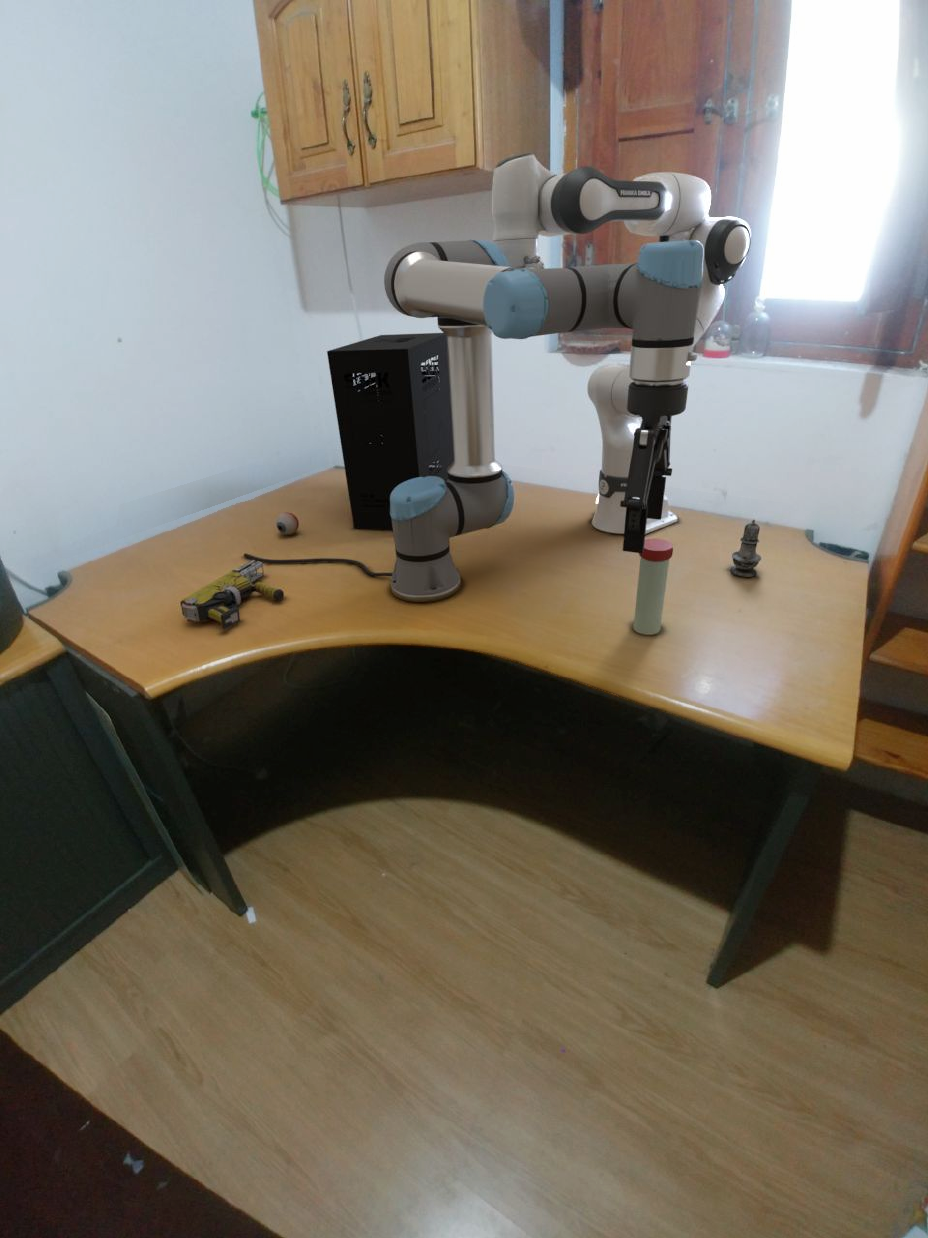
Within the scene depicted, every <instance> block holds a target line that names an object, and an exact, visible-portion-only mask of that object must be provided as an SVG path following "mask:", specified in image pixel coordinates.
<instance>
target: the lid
mask: <svg viewBox="0 0 928 1238" xmlns="http://www.w3.org/2000/svg"><path fill="white" fill-rule="evenodd" d="M673 547H674V544H673V543H672V542H671V541H670V540H666V539H663V538H645V542H644V551H643V553H638V555H639V557H640V558H641V557H642V558H643V559H646V560H650V561H665V560H668V559H669V560H671V558H672V556H673V551H674V548H673Z"/></svg>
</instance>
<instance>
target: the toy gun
mask: <svg viewBox="0 0 928 1238" xmlns="http://www.w3.org/2000/svg"><path fill="white" fill-rule="evenodd" d="M260 569H261V571H262V572H258V570H260ZM264 575H265V571H264V564H263V562H261V561H257V560H254V559H251V560H250V561H248V562H247V563H244V565H242V566H239V567H238V568H237V569H233V570H231V571H229V572H228V573H226V574H224V575H222V576H220V577H219V578H217V579H216V580H214V581H212V582H211V583H209V584H207V585H205V586H204V587H202V588H200V589H198V590H196V591H195V592H193V593H191V594H190V595H188V596H186V597H184V598H183V599H182V600H181V601H180V602H179V603H180V607H181V613H182V616H183V617H184V618H185V619H186V620H187V622H189V623H190V622H191V623H196V622H198V623H203V622H208V621H212V620H214V621H216V622H219V623H221V625H222V626H221V627H222V630H223V629H224V630H227V629H228V628H230V627H232V626H234V625H236V624H238V623H240V622H241V617H240V616H241V615H240V609H239V605H241V602H242V599H244V598H245V597H247V596H250V595H252V594H253V593H254V592H255V593H258V594H260V595H262V596H263V595H264V597H268V598H270V599H273V600H274V601H277V602H279V601H281V600H283V599H284V597H285V593H284V591H283V590H282V589H281V588H275V587H274V586H271V585H268V584H266V583H263V582H260V581H258V582H256V583H255V584H254V585H253V584H252V583H254V582H255V581H257V580H258V579H260V578H261V577H264Z"/></svg>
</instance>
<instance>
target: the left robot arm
mask: <svg viewBox="0 0 928 1238" xmlns="http://www.w3.org/2000/svg"><path fill="white" fill-rule="evenodd" d="M703 258H704V248H703V245H702V244H701V243H700V242H699V241H696V240H686V241H669V242H659V241H658V242H657V241H656V242H650V243H645V244H643V245H642V246H641V247H640V249H639V251H638V258H637V261H636V262H634V263H613V264H609V263H602V264H592V265H579V266H567V267H552V268H550V267H549V268H545V269H530V268H516V267H509V265H508V262H507V259H506V257H505V255H504V254H503V253H502V251H501V249H500V248H499V247H498V246H497V245H495V244H494V243H493V241H489V240H476V239H467V240H447V241H428V242H427V241H421V242H415V243H411V244H409V245H408V244H407V245H405V246H404V247H401V248H400V249H399V250H398V251H396V252H395V254H393V256H392V257H391V258H390V260H389V261H388V262H387V265H386V268H385V271H384V275H383V277H384V278H383V284H384V291H385V294H386V297H387V299H388V302H389V303H390V304H391V305H392V307H393V308H394V309H395V310H396V311H397V312H399V313H400V314H402V315H404V316H407V317H413V318H416V319H417V318H418V319H426V318H428V319H429V318H437V320H436V321H437V328H438V329H439V330H440V331H441V333H444V334H445V335H446V337H447V353H448V369H449V386H450V402H451V419H452V435H453V451H454V461H453V463H452V464H451V465H450V466H449V467H448V469H447V470H448V481H446V482H444V480H443V479H442V478H440V477H436V476H427V477H417V478H413V479H410V480H407V481H405V482H403V483H401V484H399V485H398V486H397V487H395V488H394V490H393V491H392V493H391V495H390V515H391V519H392V527H393V530H392V535H393V543H394V551H395V560H394V561H395V562H394V565H393V570H392V572H375V571H370V569H369V568H367V566H366V564H364V563H362V562H360V561H358V560H354V559H350V558H334V557H333V558H332V557H331V558H329V557H325V558H324V557H319V558H299V559H297V558H296V559H294V558H293V559H291V558H290V559H268V558H262V557H259V556H258V557H257V556H256V555H255V556H254V555H252V554H249V553H246V552H245V553H244V554H243V556H244V557H246V558H247V559H251V560H255V561H256V562H257V561H260V562H262V563H270V564H293V563H294V564H296V563H297V564H298V563H300V564H301V563H321V562H325V563H329V562H330V563H349V564H353V565H356V566H359V567H361V568H362V570H363V571H364V573H367V575H370V576H372V577H391V578H390V586H391V593H392V594H393V595H394V596H395V597H396V598H398V599H399V600H402V601H405V602H411V603H432V602H437V601H438V602H439V601H441V600H444V599H447V598H449V597H451V596H453V595H454V594H456V593H457V592H458V591H459V589H460V588H461V576H460V572H459V569H458V568H457V565H456V563H455V561H454V559H453V556H452V554H451V548H450V539H451V538H453V537H458V536H462V535H464V534H469V533H473V532H476V531H480V530H484V529H486V530H487V529H491V528H493V527H494V526H497V525H500V524H503V523H504V522H505V521H506V520H507V519H508V518H509V517H510V516H511V514H512V511H513V509H514V505H515V490H514V489H515V488H514V485H512V479H511V477H510V476H509V475H508V473H506V472H505V471H504V470H503V465H502V464H501V463H500V462H499V461H498V460H497V459H496V453H495V452H496V451H495V450H496V449H495V411H494V410H495V409H494V376H493V375H494V374H493V373H494V372H493V337H492V335H494V336H495V337H497V338H498V339H503V340H509V339H510V340H511V339H513V340H527V339H528V338H531V337H539V336H540V337H541V336H547V335H554V334H555V335H556V334H561V333H562V334H565V333H572V332H583V331H590V330H591V331H592V330H600V329H601V330H602V329H628V330H629V329H631V330H632V339H631V347H630V358H629V365H630V368H629V377H630V378H631V379H632V380H633V382H631V383H630V385H629V386H628V399H627V410H628V412H629V413H631V414H633V415H640V416H641V417H642V419H641V422H640V424H641V426H640V428H637V429H636V430H635V432H634V443H633V451H632V457H631V462H630V468H629V474H628V480H627V485H626V491H625V497H624V500H623V501H621V502H620V507H626V517H625V529H624V534H623V542H622V552H627V553H628V552H629V553H635V554H639V553H643V551H644V542H645V540H646V534H645V532H646V522H647V518H649V519H658V520H661V517H662V509H663V500H664V495H665V491H666V490H665V489H666V482H667V477H672V474H673V468H672V467H671V468H669V467H670V466H671V462H670V461H671V460H670V459H671V457H670V456H671V434H672V433H671V431H672V417H675V416H678V415H680V414H682V413H683V412H685V411H686V408H687V401H688V393H689V384H688V382H687V381H686V379H688V378H689V377H690V373H691V362H695V361H696V360H697V359H698V353H697V352H692V350H693V349H694V347H693V343H694V332H695V325H696V318H697V311H698V305H699V299H700V292H701V286H702V284H703V278H702V275H703ZM666 476H667V477H666ZM633 497H638V498H639V499H633Z"/></svg>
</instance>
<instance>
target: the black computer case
mask: <svg viewBox="0 0 928 1238" xmlns="http://www.w3.org/2000/svg"><path fill="white" fill-rule="evenodd" d="M326 354H327V360H328V369H329V373H330V380H331V387H332V393H333V400H334V406H335V415H336V420H337V426H338V427H337V428H338V433H339V439H340V440H339V441H340V448H341V454H342V460H343V466H344V472H345V478H346V486H347V493H348V500H349V506H350V511H351V520H352V525H353V529H360V530H361V529H362V530H363V529H364V530H366V529H367V530H389V531H393V527H392V519H391V515H390V495H391V493H392V491H393V490H394V488H395V487H397V486H398V485H399V484H401V483H403V482H405V481H407V480H410V479H413V478H417V477H427V476H436V477H440V478H442V479H443V480H444V482H446V481H448V470H447V469H448V467H449V466H450V465H451V464H452V463H453V461H454V451H453V435H452V419H451V402H450V386H449V369H448V353H447V337H446V335H445V334H444V333H443V332H427V333H400V334H399V333H397V334H395V333H394V334H379V335H377V336H373V337H370V338H367V339H363V340H359V341H356V342H353V343H350V344H347V345H342V346H340V347H336V348H333V349H330V350H327V351H326ZM429 361H430V362H429ZM436 363H437V364H436Z"/></svg>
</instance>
